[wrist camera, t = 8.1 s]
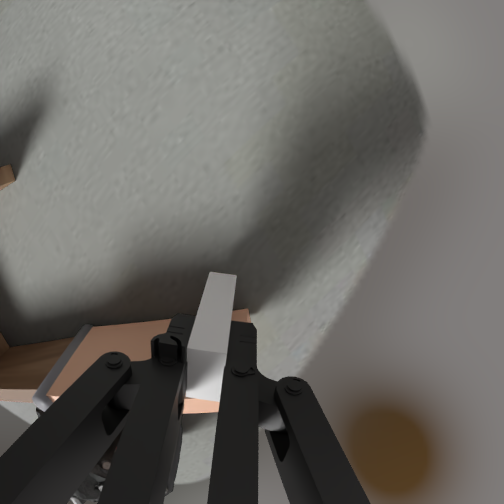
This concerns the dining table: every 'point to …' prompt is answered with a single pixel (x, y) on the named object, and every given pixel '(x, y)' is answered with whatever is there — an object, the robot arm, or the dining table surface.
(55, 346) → the frame
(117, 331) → the hatch
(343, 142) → the dining table surface
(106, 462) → the camera
